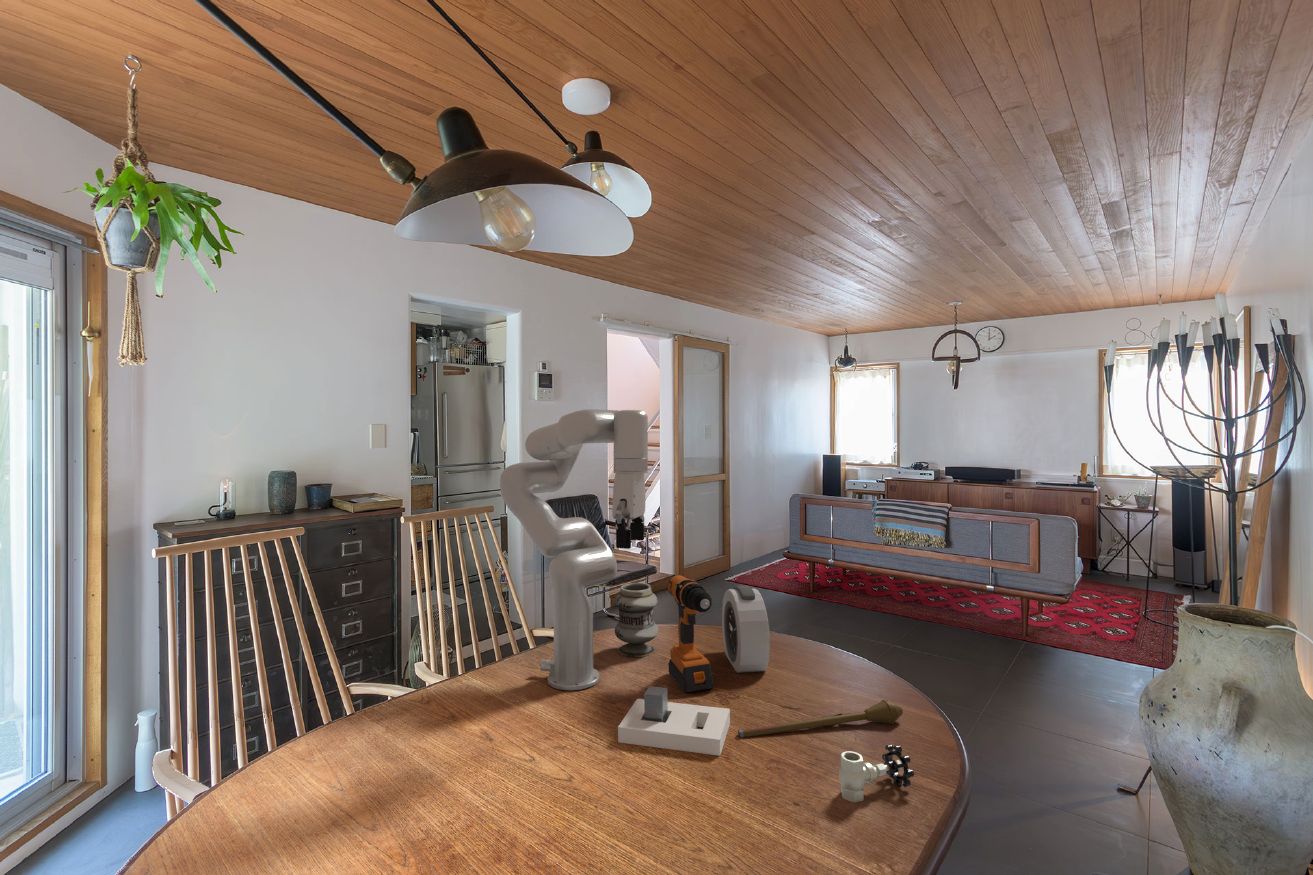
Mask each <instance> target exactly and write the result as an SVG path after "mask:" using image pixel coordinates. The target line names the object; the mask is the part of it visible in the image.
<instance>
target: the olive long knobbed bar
mask: <svg viewBox="0 0 1313 875" xmlns="http://www.w3.org/2000/svg"><path fill="white" fill-rule="evenodd" d="M903 712H904V711H903V709H902V707H901V706H900V705H898V704H896V703H894V702H892V701H889V700H888V699H887V700H885V699H881V701H880V702H877V703H876V704H873V705H872V706H870V707H868V708H866V709H864V710H863V711H859V712H846V713H845V712H842V713H835V714H831V715H826V716H822V717H819V718H812V719H805V720H798V721H791V722H790V721H789V722H783V723H777V724H776V723H775V724H770V725H764V726H758V727H751V728H744V729H743V728H742V729H738V730H737V735H738V736H739V738H740V739H744V738H751V737H752V738H753V737H759V736H764V735H765V736H766V735H772V734H777V733H786V732H791V731H792V732H793V731H798V730H805V729H812V728H820V727H826V726H833V725H840V724H843V723H844V724H846V723H853V722H859V721H864V720H865V721H867V722H872V723H878V724H885V725H889V726H890V725H893V724H895V723H896V721H898V719H900V717H901V716H902V715H903Z"/></svg>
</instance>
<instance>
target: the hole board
mask: <svg viewBox="0 0 1313 875" xmlns="http://www.w3.org/2000/svg"><path fill="white" fill-rule="evenodd" d="M730 725H731V709H730V708H726V707H717V706H707V705H696V704H691V703H678V702H671V701H668V719H667V721H666V723H663V722H655V721H646V720H644V698H637V699H636V700H635V701H634V703H633V704H632V706H631V707H630V708H629V710H628V712H627V713H626V715H625V716H624V717H623V719H622V720H621V722H620V724H618V725H617V743H621V744H629V745H636V746H643V747H651V748H659V749H664V750H665V749H667V750H674V751H679V752H680V751H682V752H689V753H697V754H704V755H713V756H719V757H720V756H721V754H722V751H723V747H724V744H725V741H726V737H727V735H728V731H729V728H730ZM698 727H699V728H698ZM701 728H702V729H701Z"/></svg>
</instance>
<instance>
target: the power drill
mask: <svg viewBox="0 0 1313 875" xmlns="http://www.w3.org/2000/svg"><path fill="white" fill-rule="evenodd" d="M667 591H668V593H669V594H670V595H671V596H672V597H674V601H675V602H676V604H677V607H678V626H677V628H678V644H674V645H673V647H671V648H670V649H669V650H670V651H669V652H670V659H669V662H668V663H667V664H668V665H667V666H668V674H669V675H670V676H671V678H672V679H673V680H674V681H675V683H676V684H677V685H678V687H679V688H680V689H681V691H682V692H683V693H690V692H696V691H703V690H708V689H713V687H714V677H713V673H712V668H711V663H710V661H709V660H708V658H707V657H705V655H704V654H702V653H701V652H700V651H699V649H697V647H696V646H694V640H695V625H696V623H697V619H696V615H697V614H699V613H706V612H707V611H710V609H711V607H712V605H713V598H712V597H711V595H710V593H708V592H707V591H706V589H705V588H704V587H703V586H702V585H701V584H700V583H699V582H698V581H697V580H695V579H689V578H687V577H684V576H683V575H679V574H678V575H674V576H672V577H671V578H669V581H668V582H667Z"/></svg>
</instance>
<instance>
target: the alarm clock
mask: <svg viewBox="0 0 1313 875" xmlns="http://www.w3.org/2000/svg"><path fill="white" fill-rule="evenodd" d="M764 601H765V600H764V599H763V597H762V594H761V593H760V591H759V590H758V589H756V588H752V587H751V586H750V585H747V584H746V585H734V586H733V588H729V589H726V590H725V593H724V595H723V598H722V607H721V630H722V642H723V646H724V648H723V649H724V655H725V656H726V657H727V659H728V660H729V662H730V664H731V665H732V667H733V669H734V671H735V672H736V673H737V674H738V673H752V672H753V673H754V672H766V671H767V669H768V665H769V662H770V655H771V654H770V653H771V652H770V651H771V640H770V626H769V625H770V624H769V619H768V613H767V609H766V605H765V602H764Z"/></svg>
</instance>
